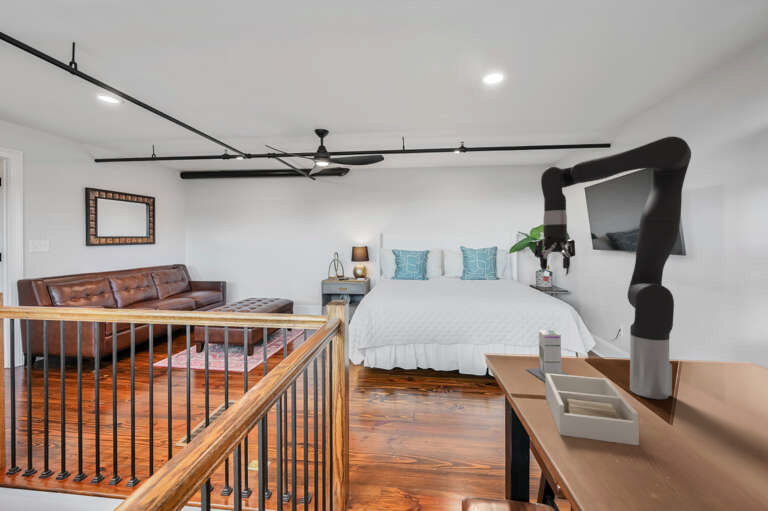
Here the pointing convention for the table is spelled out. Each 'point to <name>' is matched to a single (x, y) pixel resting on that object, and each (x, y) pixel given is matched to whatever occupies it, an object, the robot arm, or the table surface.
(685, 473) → the table surface
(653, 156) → the robot arm
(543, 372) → the syrup box
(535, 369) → the rubber mat
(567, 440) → the table surface
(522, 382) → the table surface
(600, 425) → the white divided tray
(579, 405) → the offcut stack
